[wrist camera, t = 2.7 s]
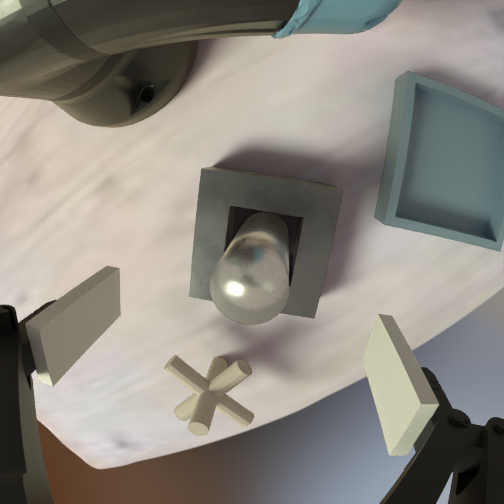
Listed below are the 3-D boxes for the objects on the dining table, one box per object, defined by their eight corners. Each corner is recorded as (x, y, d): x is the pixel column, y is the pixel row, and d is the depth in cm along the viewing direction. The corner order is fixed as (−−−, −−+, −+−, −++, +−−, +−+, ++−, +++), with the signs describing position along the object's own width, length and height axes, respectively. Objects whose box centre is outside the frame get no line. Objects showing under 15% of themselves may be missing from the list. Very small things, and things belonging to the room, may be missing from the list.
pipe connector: (214, 306, 32) (185, 366, 22) (284, 366, 33) (281, 434, 24) (159, 358, 35) (125, 416, 25) (224, 408, 36) (208, 471, 27)
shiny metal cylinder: (243, 208, 29) (213, 245, 17) (292, 216, 29) (295, 259, 17) (236, 255, 30) (206, 316, 19) (284, 263, 30) (281, 330, 18)
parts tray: (395, 78, 24) (407, 70, 21) (505, 121, 23) (522, 120, 20) (374, 217, 28) (383, 224, 25) (484, 242, 27) (500, 251, 24)
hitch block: (211, 166, 28) (201, 168, 25) (335, 186, 27) (342, 190, 24) (199, 281, 31) (189, 296, 28) (312, 301, 31) (314, 318, 27)
